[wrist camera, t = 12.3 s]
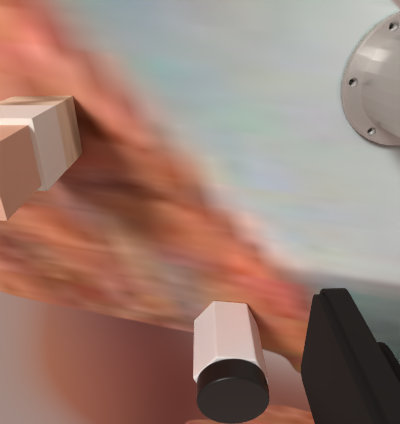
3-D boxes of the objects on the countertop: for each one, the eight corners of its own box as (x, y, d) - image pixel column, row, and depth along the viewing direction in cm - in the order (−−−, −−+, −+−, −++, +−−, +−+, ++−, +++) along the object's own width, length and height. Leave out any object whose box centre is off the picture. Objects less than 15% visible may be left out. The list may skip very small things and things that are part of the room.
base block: (72, 95, 36) (55, 105, 31) (82, 153, 39) (67, 169, 34) (13, 96, 36) (-14, 106, 31) (27, 153, 39) (5, 170, 34)
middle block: (55, 105, 31) (31, 118, 27) (67, 169, 34) (47, 190, 30) (-13, 105, 31) (-48, 118, 27) (4, 169, 34) (-25, 191, 30)
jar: (228, 352, 53) (236, 434, 42) (184, 328, 51) (180, 409, 40) (269, 316, 50) (288, 395, 39) (222, 288, 47) (229, 365, 37)
